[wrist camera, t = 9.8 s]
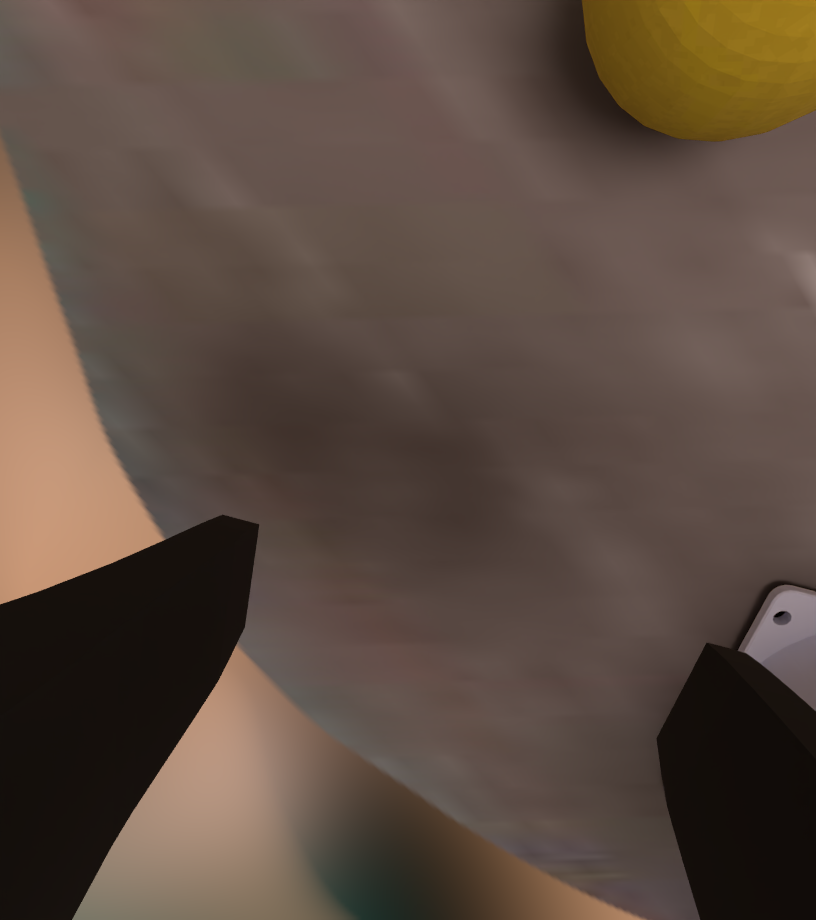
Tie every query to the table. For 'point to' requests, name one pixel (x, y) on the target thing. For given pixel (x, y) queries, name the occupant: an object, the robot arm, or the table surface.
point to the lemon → (706, 63)
